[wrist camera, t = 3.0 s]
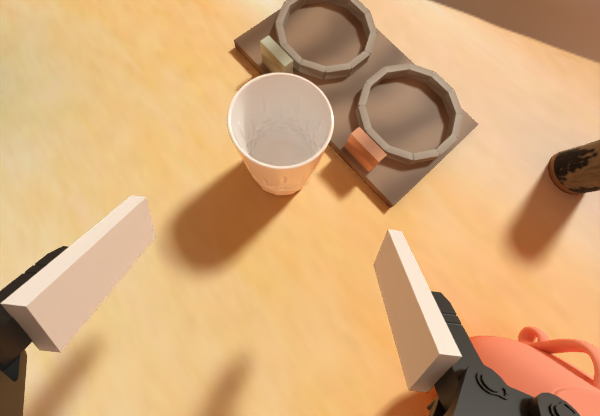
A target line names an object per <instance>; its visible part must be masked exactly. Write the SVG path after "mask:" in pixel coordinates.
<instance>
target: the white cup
mask: <svg viewBox="0 0 600 416" xmlns="http://www.w3.org/2000/svg"><path fill="white" fill-rule="evenodd" d="M227 126H228V131H229V134H230V137H231V139H232V141H233V143H234V145H235V147H236V149H237V151H238V152H239V154H240V156H241V158H242V160H243V162H244V164H245V165H246V167H247V168H248V170H249V172H250V173H251V175H252V176H253V178H254V180H255V181H256V182H257V183H258V184H259V185H260V186H261V188H262V189H263V190H265V191H267V192H269V193H272V194H274V195H291V194H293V193H295V192H297V191H299V190H301V189H302V188H303V187H304V186H305V184H306V183H307V182H308V180H309V179H310V177H311V176H312V174H313V173H314V171H315V169H316V167H317V166H318V164H319V162H320V160H321V158H322V156H323V154H324V152H325V150H326V148H327V146H328V144H329V142H330V139H331V137H332V133H333V128H334V116H333V111H332V108H331V105H330V103H329V101H328V99H327V97H326V96H325V95H324V93H323V92H322V91H321V90H320V89H319V88H318V87H317V86H316V85H315V84H313V83H312V82H310V81H309V80H307V79H305V78H303V77H300V76H298V75H294V74H290V73H269V74H264V75H261V76H258V77H256V78H254V79H252V80H250V81H249V82H247V83H246V84H244V85H243V86H242V87H241V88H240V89H239V90H238V91H237V93H236V94H235V95H234V97H233V99H232V101H231V103H230V106H229V109H228V114H227Z"/></svg>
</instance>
